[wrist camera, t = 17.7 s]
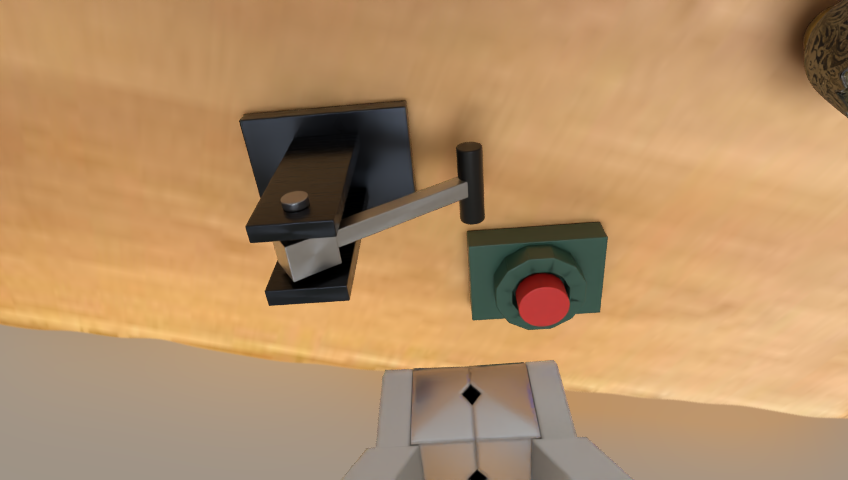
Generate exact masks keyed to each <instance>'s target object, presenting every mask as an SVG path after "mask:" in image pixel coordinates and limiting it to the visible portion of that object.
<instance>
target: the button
mask: <svg viewBox="0 0 848 480" xmlns="http://www.w3.org/2000/svg"><path fill="white" fill-rule="evenodd" d="M516 301H517V305H518V310H519V314H520V316H521V317H522V319H523V320H524V321H526V322H527V323H529V324H531V325H534V326H549V325H553V324H555V323H557V322H559V321H560V320H562V319H563V318H564V317H565V316H566V314H567V312H568V310H569V306H570V302H569V298H568V295H567V292H566V289H565V287H564V284H563V282H562V281H561V280H560V279H559V278H558V277H556V276H554V275H552V274H548V273H537V274H533V275H530V276H528V277H526V278H525V279H524V280H522V281H521V283H520V284H519V285H518V287H517V289H516Z"/></svg>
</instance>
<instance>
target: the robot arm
mask: <svg viewBox="0 0 848 480" xmlns="http://www.w3.org/2000/svg"><path fill="white" fill-rule="evenodd" d="M379 409H380V410H379V419H378V429H377V439H376V440H377V441H376V448H367V449H366V450H365V451H364V453H363V454H362V455H361V456H360V457H359V459H358V460H357V461H356V462H355V463H354V465H353V466H352V467H351V468H350V470H349V471H348V472H347V473H346V474H345V476H344V477H343V478H342V479H341V480H634V479H633V478H631V477H630V476H629V475H628V474H627V473H626V472H625V471H624V470H623V469H621V468H620V467H619V466H618V465H617V464H616V463H615V462H614V461H613V460H611V459H610V458H609V457H608V456H607V455H606V454H605V453H604V452H602V451H601V450H600V449H599V448H598V447H597V446H596V445H595V444H594V443H592V442H591V441H590V440H589V439H588V438H587V437H577V435H576V431H575V427H574V424H573V420H572V416H571V413H570V410H569V406H568V402H567V399H566V395H565V391H564V387H563V384H562V380H561V377H560V373H559V369H558V366H557V364H556V362H555V361H554V360H549V361H534V362H525V363H524V362H521V363H506V364H492V365H477V366H469V367H442V368H414V369H401V370H385V372H384V375H383V378H382V388H381V398H380V408H379Z"/></svg>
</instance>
